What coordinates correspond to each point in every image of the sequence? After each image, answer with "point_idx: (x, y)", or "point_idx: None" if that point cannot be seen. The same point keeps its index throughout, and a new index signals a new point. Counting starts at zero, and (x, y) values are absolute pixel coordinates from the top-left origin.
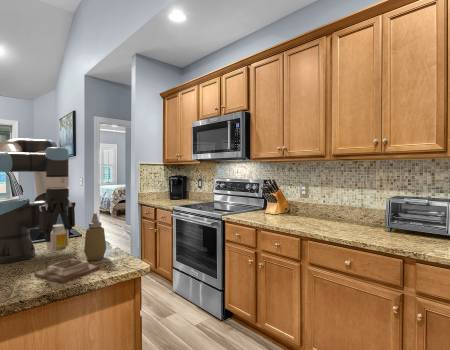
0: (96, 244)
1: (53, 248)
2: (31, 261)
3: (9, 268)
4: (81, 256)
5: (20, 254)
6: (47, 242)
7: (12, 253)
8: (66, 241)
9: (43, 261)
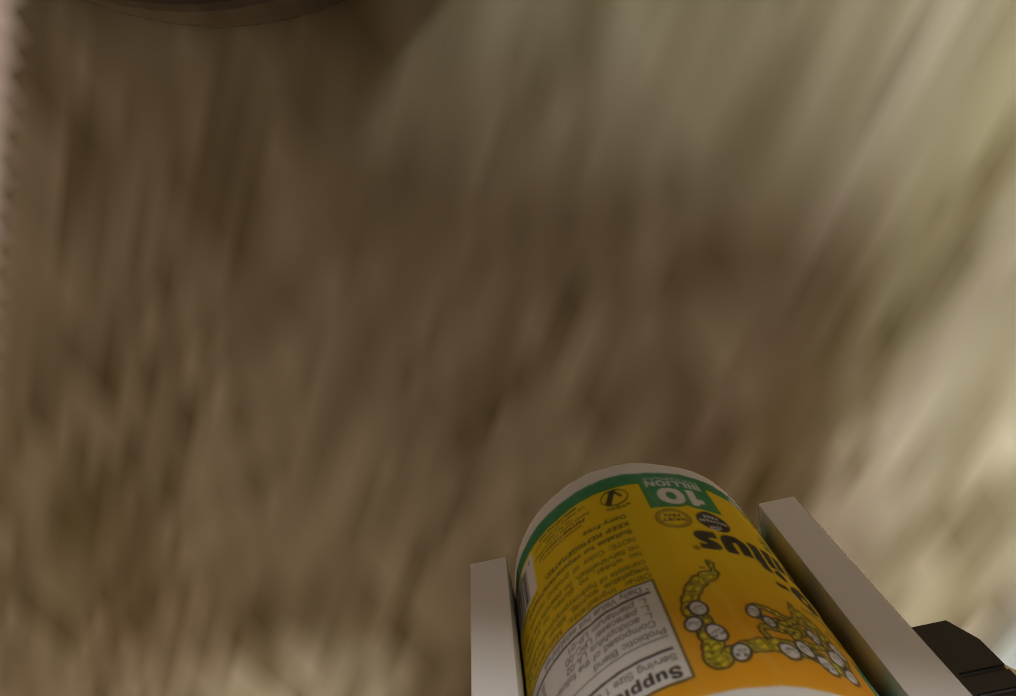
0: None
1: None
2: (353, 191)
3: (51, 290)
4: (869, 505)
5: (196, 2)
6: (474, 675)
7: None
8: None
9: (467, 333)
